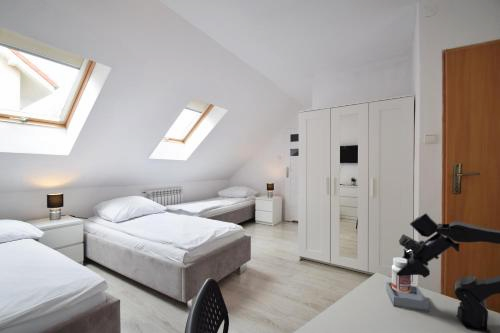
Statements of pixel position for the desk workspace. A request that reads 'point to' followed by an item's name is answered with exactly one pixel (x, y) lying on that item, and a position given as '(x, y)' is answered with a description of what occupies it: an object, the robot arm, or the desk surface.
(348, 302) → the desk surface
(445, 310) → the desk surface
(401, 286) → the pill bottle
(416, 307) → the slate tray
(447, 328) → the desk surface
